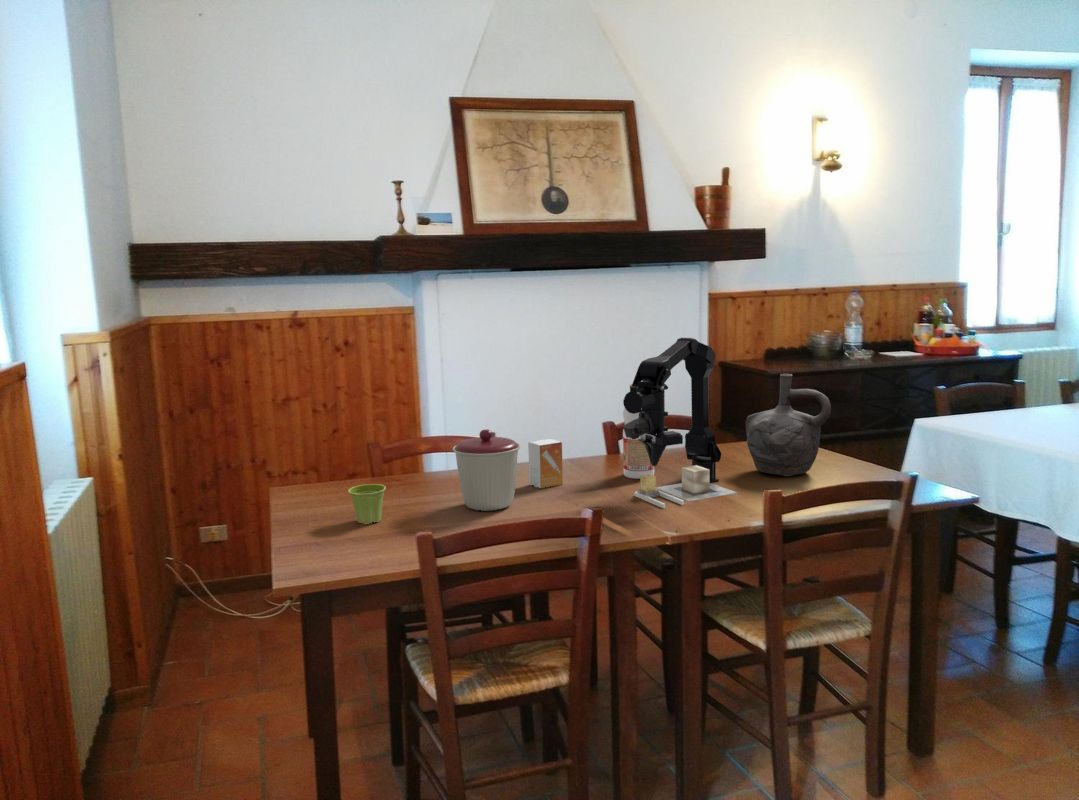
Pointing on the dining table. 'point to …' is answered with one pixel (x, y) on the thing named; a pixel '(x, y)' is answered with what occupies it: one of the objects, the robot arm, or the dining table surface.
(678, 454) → the dining table surface
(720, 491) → the plate
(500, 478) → the canister
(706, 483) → the block
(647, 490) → the lever
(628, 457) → the fruit juice
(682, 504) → the rail
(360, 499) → the plant pot
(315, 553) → the dining table surface
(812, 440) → the vessel
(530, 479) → the small box
